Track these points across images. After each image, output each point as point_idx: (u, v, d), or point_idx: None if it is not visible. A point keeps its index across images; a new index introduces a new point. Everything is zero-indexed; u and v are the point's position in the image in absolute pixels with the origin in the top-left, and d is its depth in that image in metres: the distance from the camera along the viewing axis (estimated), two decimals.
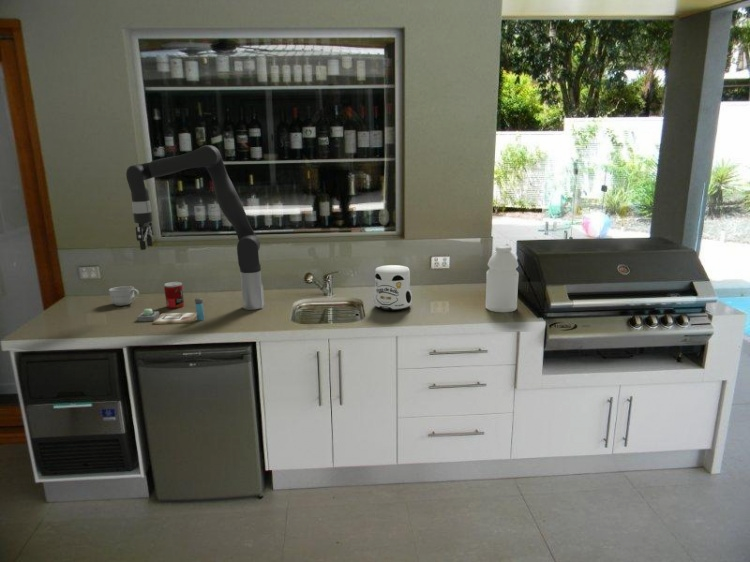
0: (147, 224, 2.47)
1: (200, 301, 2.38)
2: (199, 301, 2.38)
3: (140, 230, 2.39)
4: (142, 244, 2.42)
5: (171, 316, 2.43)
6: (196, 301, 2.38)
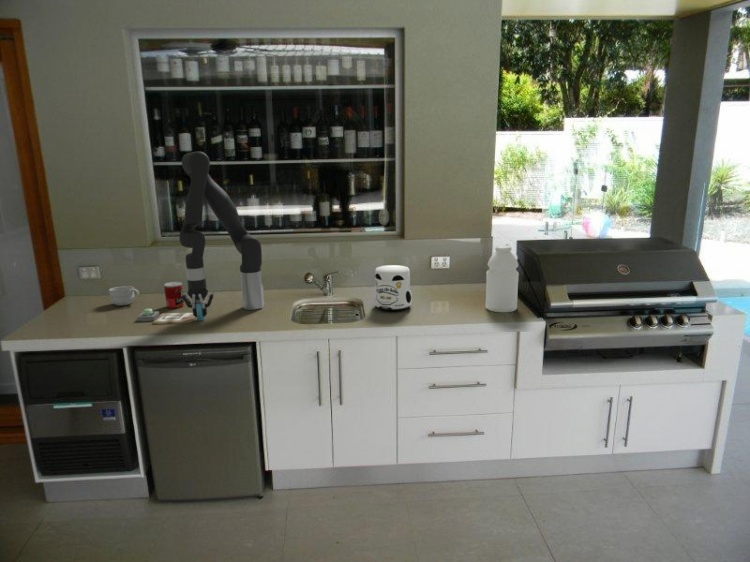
0: None
1: None
2: (199, 301, 2.38)
3: (213, 296, 2.40)
4: (206, 310, 2.41)
5: (171, 316, 2.43)
6: (196, 301, 2.38)
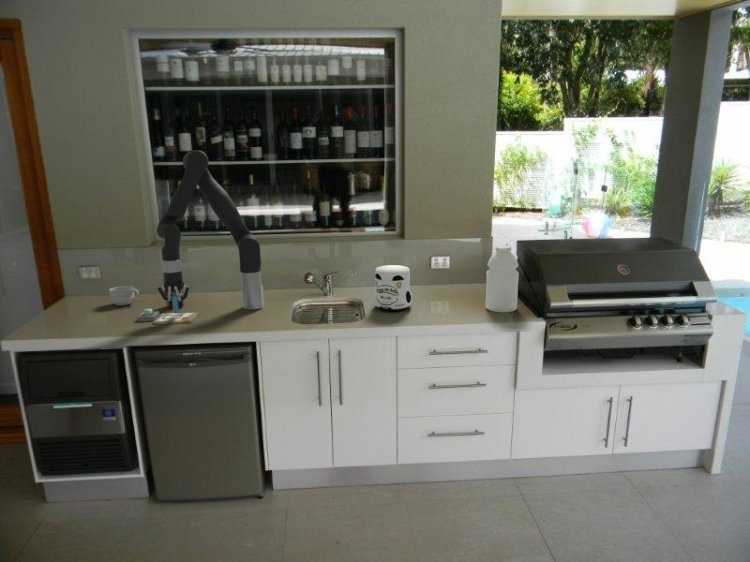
0: None
1: None
2: (175, 293, 2.37)
3: (189, 289, 2.39)
4: (182, 303, 2.40)
5: (171, 316, 2.43)
6: (172, 293, 2.37)
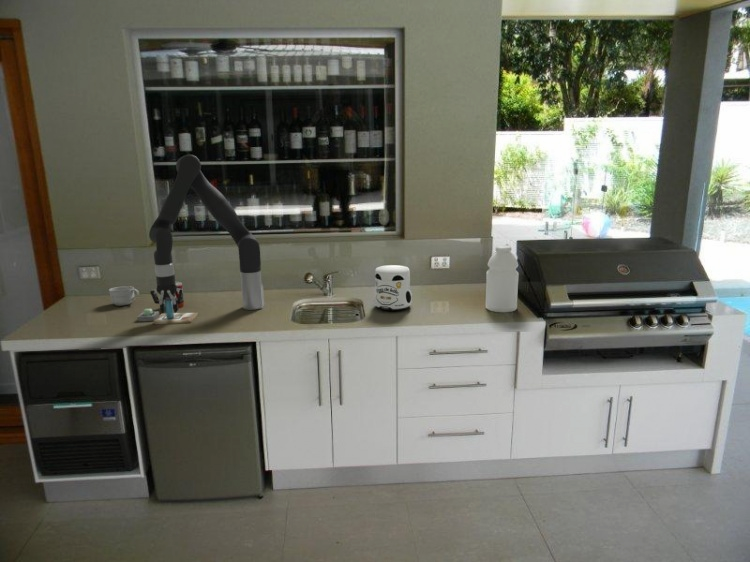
0: None
1: (169, 298, 2.39)
2: (168, 298, 2.39)
3: None
4: (177, 306, 2.40)
5: None
6: (165, 298, 2.38)
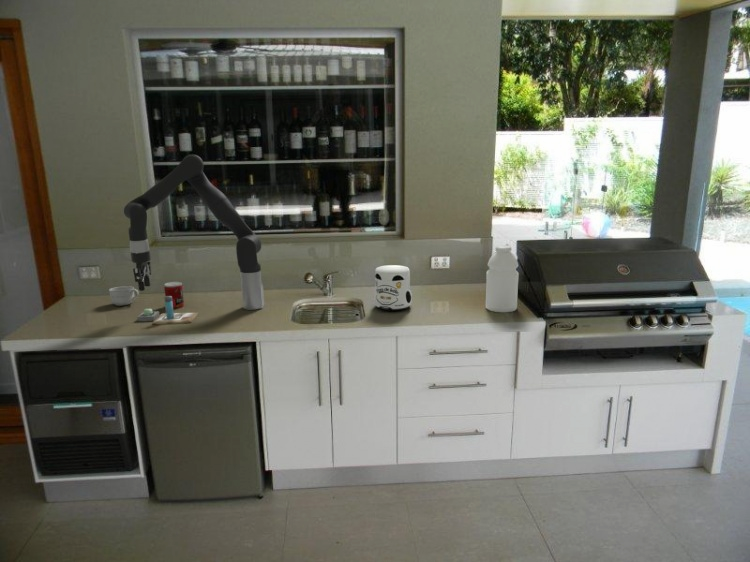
0: None
1: (170, 299, 2.38)
2: (168, 299, 2.38)
3: None
4: None
5: None
6: (165, 299, 2.38)
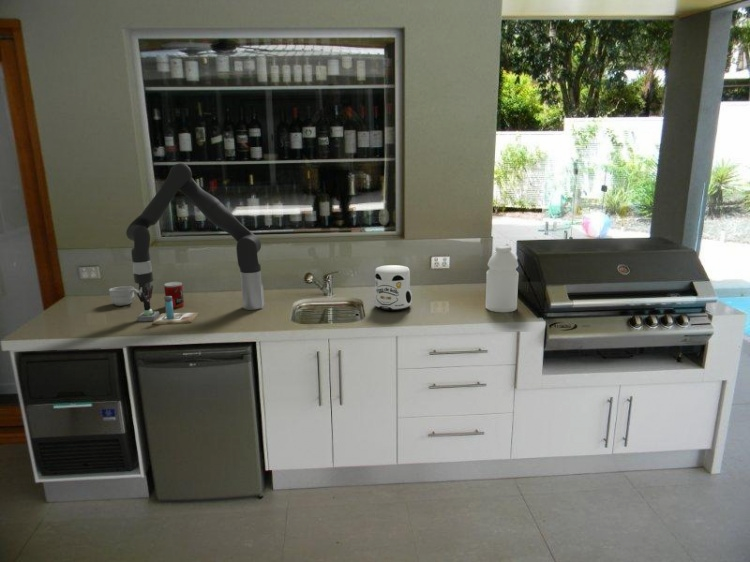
0: None
1: (170, 299, 2.38)
2: (168, 299, 2.38)
3: None
4: None
5: None
6: (165, 299, 2.38)
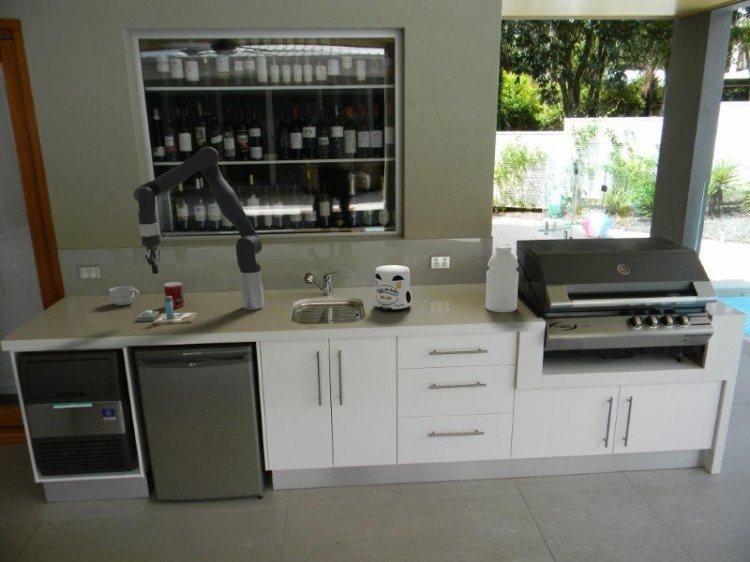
0: None
1: (170, 299, 2.38)
2: (168, 299, 2.38)
3: None
4: None
5: None
6: (165, 299, 2.38)
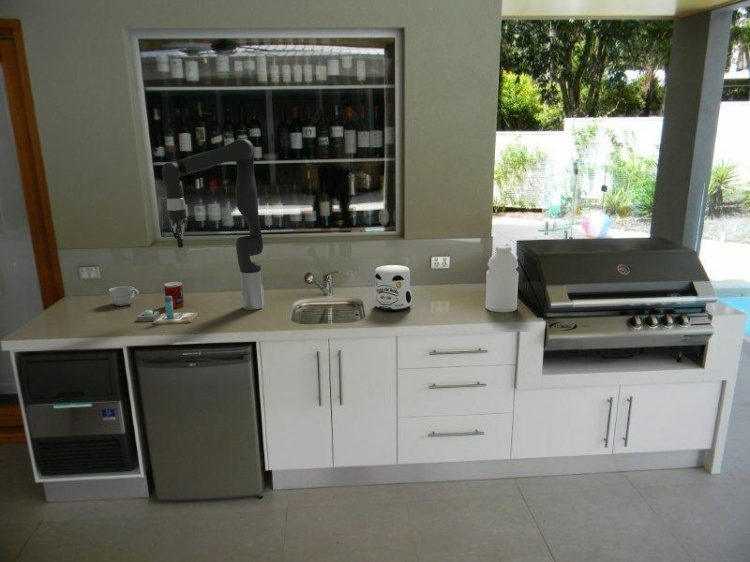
0: None
1: (170, 299, 2.38)
2: (168, 299, 2.38)
3: None
4: None
5: None
6: (165, 299, 2.38)
